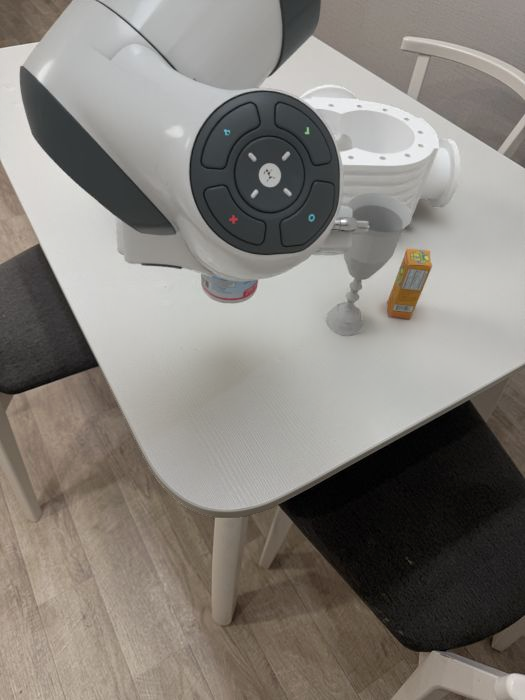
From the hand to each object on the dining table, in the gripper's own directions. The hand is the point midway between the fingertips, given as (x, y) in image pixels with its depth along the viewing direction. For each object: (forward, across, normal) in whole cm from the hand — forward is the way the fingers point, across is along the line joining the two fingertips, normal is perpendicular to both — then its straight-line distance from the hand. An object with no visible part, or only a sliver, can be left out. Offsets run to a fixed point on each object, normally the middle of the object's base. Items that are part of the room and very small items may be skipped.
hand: (230, 239), depth 52 cm
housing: (+35, -18, -10) cm, 40 cm away
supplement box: (+17, -24, +8) cm, 31 cm away
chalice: (+16, -16, +9) cm, 25 cm away
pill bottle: (+4, 0, +5) cm, 6 cm away
